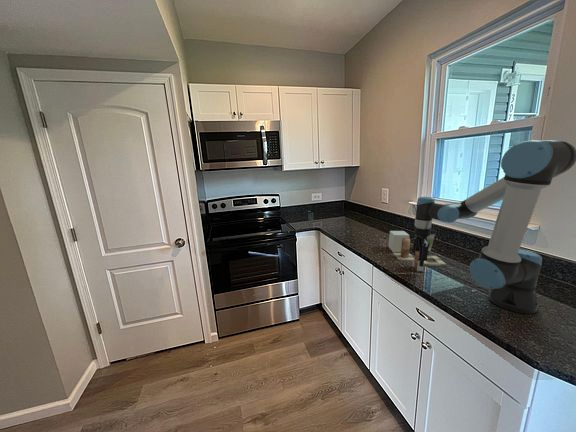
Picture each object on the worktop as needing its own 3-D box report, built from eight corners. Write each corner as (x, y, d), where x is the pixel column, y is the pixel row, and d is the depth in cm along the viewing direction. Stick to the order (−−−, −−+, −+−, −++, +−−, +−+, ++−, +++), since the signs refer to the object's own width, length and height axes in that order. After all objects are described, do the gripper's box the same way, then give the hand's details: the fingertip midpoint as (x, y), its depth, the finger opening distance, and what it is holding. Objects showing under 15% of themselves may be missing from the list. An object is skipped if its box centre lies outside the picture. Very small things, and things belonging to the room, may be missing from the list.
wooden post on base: (416, 262, 142) (419, 242, 139) (398, 262, 143) (400, 242, 140) (409, 255, 153) (411, 236, 150) (392, 255, 154) (394, 236, 151)
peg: (423, 273, 130) (426, 253, 127) (415, 273, 130) (417, 253, 127) (420, 269, 134) (422, 250, 131) (411, 269, 134) (413, 250, 132)
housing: (407, 254, 154) (409, 235, 151) (392, 254, 155) (394, 235, 152) (402, 249, 163) (404, 230, 160) (388, 249, 164) (389, 230, 161)
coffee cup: (435, 254, 153) (438, 231, 150) (418, 253, 155) (421, 231, 151) (430, 249, 162) (432, 227, 159) (414, 248, 164) (416, 226, 161)
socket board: (446, 268, 134) (446, 264, 134) (423, 268, 135) (423, 263, 135) (435, 259, 146) (435, 255, 145) (414, 259, 147) (414, 255, 146)
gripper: (438, 232, 118) (433, 277, 123) (422, 222, 134) (418, 262, 140) (422, 232, 118) (417, 276, 124) (408, 222, 135) (404, 262, 140)
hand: (417, 269), depth 132 cm, fingers closed on peg, 4 cm apart
